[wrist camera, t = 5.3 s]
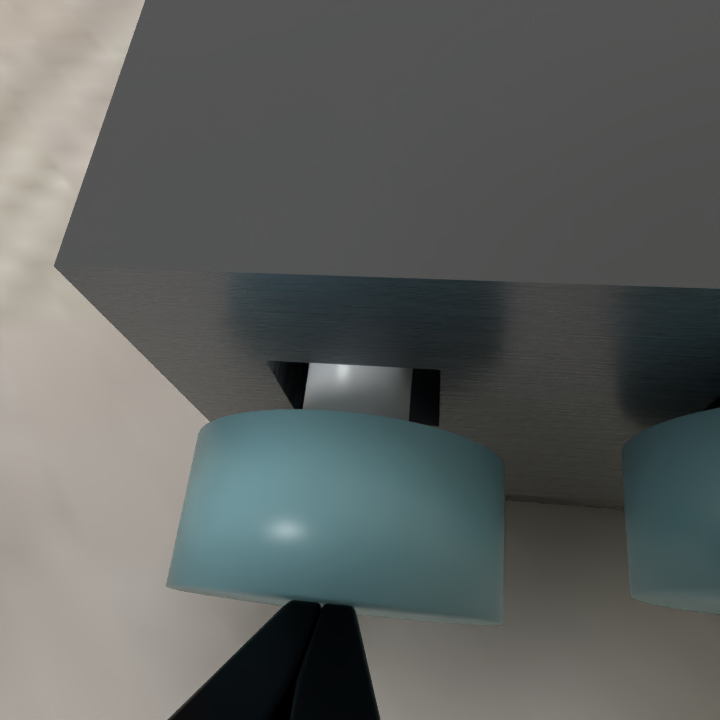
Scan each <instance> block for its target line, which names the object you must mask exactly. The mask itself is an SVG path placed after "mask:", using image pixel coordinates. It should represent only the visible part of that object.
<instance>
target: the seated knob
mask: <svg viewBox="0 0 720 720" xmlns="http://www.w3.org/2000/svg"><path fill="white" fill-rule="evenodd" d="M621 457H622V473H623V490H624V506H625V522H626V539H627V555H628V571H629V588H630V596H631V598H633V599H635V600H638V601H641V602H645V603H649V604H654V605H659V606H664V607H670V608H675V609H682V610H689V611H696V612H704V613H712V614H720V408H716V409H711V410H706V411H702V412H697V413H693V414H689V415H685V416H682V417H678V418H674V419H672V420H669V421H666V422H663V423H660V424H657V425H655V426H652V427H650V428H648V429H645V430H643V431H642V432H640V433H638V434H636V435H635V436H633V437H632V438H631V439H630V440H628V441H627V442H626V443H625V445H624V446H623V448H622V452H621Z"/></svg>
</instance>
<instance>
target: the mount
mask: <svg viewBox="0 0 720 720" xmlns="http://www.w3.org/2000/svg"><path fill="white" fill-rule="evenodd" d="M54 267H55V268H56V269H57V270H58V271H59V272H60V273H61V274H62V275H63V276H64V277H65V278H66V279H67V280H68V281H69V282H70V283H71V284H72V285H73V286H74V287H75V288H76V289H77V290H78V291H79V292H80V293H81V294H82V295H83V296H84V297H85V298H86V299H87V300H88V301H89V302H90V303H91V304H92V305H93V306H94V307H95V308H96V309H97V310H98V311H99V312H100V313H101V314H102V315H103V316H104V317H105V318H106V319H107V320H108V321H109V322H110V323H112V324H113V325H114V326H115V327H116V328H117V329H118V330H119V331H120V332H121V333H122V334H123V335H124V336H125V337H126V338H127V339H128V340H129V341H130V342H131V343H132V344H133V345H134V346H135V347H136V348H137V349H138V350H139V351H140V352H141V353H142V354H143V355H144V356H145V357H146V358H147V359H148V360H149V361H150V362H151V363H152V364H153V365H154V366H155V367H156V368H157V369H158V370H159V371H160V372H161V373H162V374H163V375H164V376H165V377H166V378H167V379H168V380H169V381H170V382H171V383H172V384H173V385H174V386H175V387H176V388H177V389H178V390H179V391H180V392H181V393H182V394H183V395H184V396H185V397H186V398H187V399H188V400H189V401H190V402H191V403H192V404H193V405H194V406H195V407H196V408H197V409H198V410H199V411H200V412H201V413H202V414H203V415H204V416H205V417H206V418H207V419H208V420H209V421H210V422H211V421H213V420H216V419H219V418H222V417H225V416H229V415H234V414H239V413H244V412H253V411H262V410H279V409H303V404H304V397H305V390H306V383H307V376H308V370H309V363H322V364H341V365H359V366H378V367H396V368H413V372H412V385H411V398H410V411H409V421H410V422H414V423H419V424H423V425H427V426H431V427H435V428H438V429H442V430H446V431H448V432H451V433H454V434H457V435H460V436H463V437H466V438H468V439H470V440H473V441H475V442H477V443H479V444H481V445H483V446H485V447H487V448H488V449H490V450H491V451H493V452H494V453H495V454H497V455H498V456H499V457H500V458H501V460H502V461H503V463H504V465H505V500H512V501H525V502H537V503H549V504H562V505H574V506H587V507H599V508H611V509H624V510H625V506H624V490H623V473H622V457H621V452H622V448H623V446H624V445H625V443H626V442H627V441H628V440H630V439H631V438H632V437H633V436H635V435H636V434H638V433H640V432H642V431H643V430H645V429H648V428H650V427H652V426H655V425H657V424H660V423H663V422H666V421H669V420H672V419H674V418H678V417H682V416H685V415H689V414H693V413H697V412H702V411H706V410H711V409H716V408H720V0H145V3H144V6H143V9H142V11H141V14H140V17H139V20H138V23H137V26H136V29H135V32H134V35H133V38H132V41H131V43H130V46H129V49H128V52H127V55H126V58H125V61H124V64H123V67H122V70H121V72H120V75H119V78H118V81H117V84H116V87H115V90H114V93H113V96H112V99H111V102H110V104H109V107H108V110H107V113H106V116H105V119H104V122H103V125H102V128H101V131H100V133H99V136H98V139H97V142H96V145H95V148H94V151H93V154H92V157H91V160H90V163H89V165H88V168H87V171H86V174H85V177H84V180H83V183H82V186H81V189H80V192H79V194H78V197H77V200H76V203H75V206H74V209H73V212H72V215H71V218H70V221H69V224H68V226H67V229H66V232H65V235H64V238H63V241H62V244H61V247H60V250H59V253H58V255H57V258H56V261H55V264H54Z"/></svg>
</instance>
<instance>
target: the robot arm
mask: <svg viewBox="0 0 720 720" xmlns="http://www.w3.org/2000/svg"><path fill="white" fill-rule="evenodd" d="M168 720H380V716H379V711H378V707H377V703H376V698H375V694H374V689H373V685H372V681H371V676H370V672H369V668H368V663H367V659H366V654H365V650H364V646H363V641H362V637H361V632H360V628H359V624H358V619H357V615H356V611H355V609H354V607H352V606H345V605H336V604H325V605H323V606H321V605H320V604H319V603H316V602H307V601H298V600H291V601H289V602H287V603H286V604H285V605H284V606H283V607H282V608H281V609H280V610H279V611H278V612H277V613H276V614H275V615H274V616H273V617H272V618H271V619H270V620H269V621H268V622H267V623H266V624H265V625H264V626H263V627H262V628H261V629H260V630H259V631H258V632H257V633H256V634H255V635H254V636H253V637H252V638H251V639H250V640H248V641H247V642H246V643H245V644H244V645H243V646H242V647H241V648H240V649H239V650H238V651H237V652H236V653H235V654H234V655H233V656H232V657H231V658H230V659H229V660H228V661H227V662H226V663H225V664H224V665H223V666H222V667H221V668H220V669H219V670H218V671H217V672H216V673H215V674H214V675H213V676H212V677H211V678H210V679H209V680H208V681H207V682H206V683H205V684H204V685H203V686H202V687H201V688H200V689H198V690H197V691H196V692H195V693H194V694H193V695H192V696H191V697H190V698H189V699H188V700H187V701H186V702H185V703H184V704H183V705H182V706H181V707H180V708H179V709H178V710H177V711H176V712H175V713H174V714H173V715H172V716H171V717H170V718H169V719H168Z"/></svg>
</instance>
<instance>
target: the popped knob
mask: <svg viewBox="0 0 720 720" xmlns="http://www.w3.org/2000/svg"><path fill="white" fill-rule="evenodd" d="M412 372H413V368H396V367H378V366H359V365H341V364H322V363H309V370H308V376H307V383H306V390H305V397H304V404H303V409H279V410H262V411H253V412H244V413H239V414H234V415H229V416H225V417H222V418H219V419H216V420H213V421H211V422H209V423H207V424H206V425H205V426H204V427H202V428H201V430H200V432H199V434H198V438H197V443H196V448H195V452H194V457H193V462H192V467H191V471H190V476H189V481H188V485H187V490H186V495H185V499H184V504H183V509H182V514H181V518H180V523H179V528H178V532H177V537H176V542H175V546H174V551H173V556H172V561H171V565H170V570H169V575H168V579H167V584H166V586H167V587H169V588H172V589H176V590H181V591H186V592H191V593H197V594H203V595H209V596H216V597H222V598H229V599H236V600H243V601H251V602H258V603H266V604H273V605H281V606H284V605H285V604H286V603H287V602H289V601H291V600H298V601H307V602H316V603H319V604H320V605H321V606H323V605H325V604H336V605H345V606H352V607H354V609H355V611H356V614H358V615H368V616H378V617H387V618H398V619H408V620H419V621H430V622H443V623H456V624H471V625H503V587H504V511H505V465H504V463H503V461H502V460H501V458H500V457H499V456H498V455H497V454H495V453H494V452H493V451H491V450H490V449H488V448H487V447H485V446H483V445H481V444H479V443H477V442H475V441H473V440H470V439H468V438H466V437H463V436H460V435H457V434H454V433H451V432H448V431H446V430H442V429H438V428H435V427H431V426H427V425H423V424H419V423H414V422H410V421H409V411H410V398H411V385H412Z"/></svg>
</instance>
